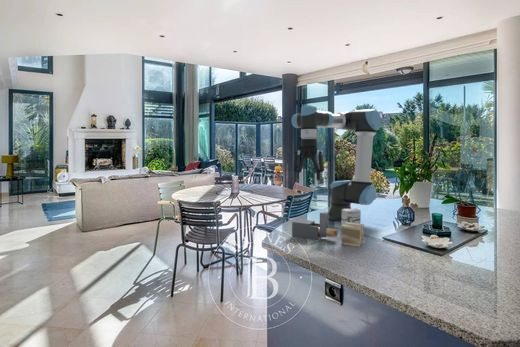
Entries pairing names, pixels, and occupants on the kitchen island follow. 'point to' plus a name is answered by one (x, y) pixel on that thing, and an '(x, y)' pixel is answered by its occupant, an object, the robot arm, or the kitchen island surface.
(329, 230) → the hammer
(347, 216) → the ink box
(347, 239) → the socket
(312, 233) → the sleeve
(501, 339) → the kitchen island surface
